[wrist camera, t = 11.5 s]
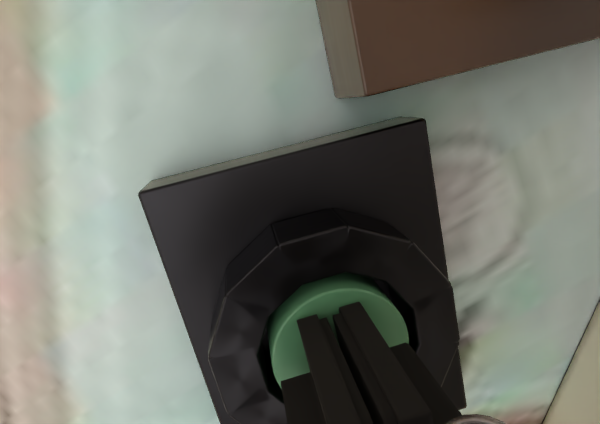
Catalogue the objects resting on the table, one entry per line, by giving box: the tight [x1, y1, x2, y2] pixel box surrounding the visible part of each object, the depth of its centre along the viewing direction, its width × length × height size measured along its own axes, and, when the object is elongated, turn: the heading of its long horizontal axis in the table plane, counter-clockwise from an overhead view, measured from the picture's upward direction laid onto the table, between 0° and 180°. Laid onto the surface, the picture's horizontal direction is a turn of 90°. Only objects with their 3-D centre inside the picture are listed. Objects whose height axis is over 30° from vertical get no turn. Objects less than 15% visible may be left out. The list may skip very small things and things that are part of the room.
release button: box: [267, 272, 409, 389], centre depth 11 cm, size 4×4×2 cm
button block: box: [138, 117, 467, 424], centre depth 12 cm, size 10×8×4 cm
